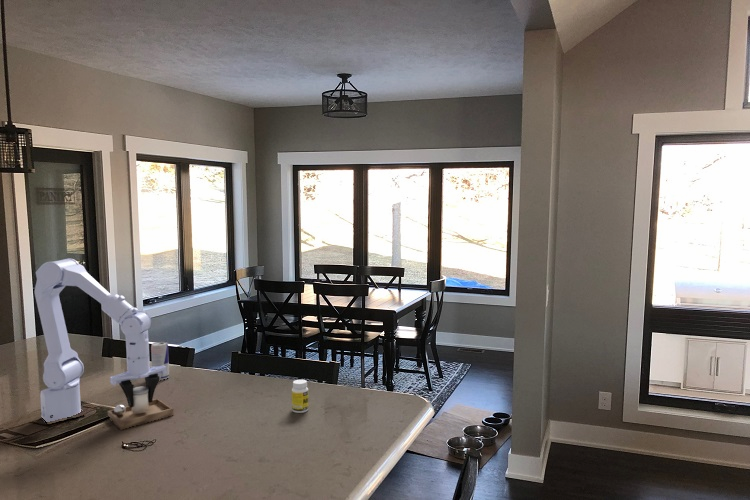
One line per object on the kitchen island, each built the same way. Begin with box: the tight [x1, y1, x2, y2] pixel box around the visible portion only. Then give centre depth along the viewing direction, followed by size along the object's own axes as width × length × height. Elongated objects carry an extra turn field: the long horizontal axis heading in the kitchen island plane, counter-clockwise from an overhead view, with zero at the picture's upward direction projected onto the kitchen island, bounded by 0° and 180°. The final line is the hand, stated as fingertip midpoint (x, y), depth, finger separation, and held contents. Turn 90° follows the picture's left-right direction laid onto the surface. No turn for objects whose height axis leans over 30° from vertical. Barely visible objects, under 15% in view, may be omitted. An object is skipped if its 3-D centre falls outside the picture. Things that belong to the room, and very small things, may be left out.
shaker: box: [132, 385, 149, 413], centre depth 150 cm, size 5×5×6 cm
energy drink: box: [150, 341, 170, 381], centre depth 183 cm, size 5×5×12 cm
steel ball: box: [113, 404, 126, 416], centre depth 150 cm, size 3×3×3 cm
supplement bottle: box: [291, 379, 310, 414], centre depth 154 cm, size 5×5×8 cm
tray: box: [107, 398, 175, 431], centre depth 151 cm, size 14×11×2 cm
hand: (140, 403), depth 150 cm, fingers closed on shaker, 4 cm apart
